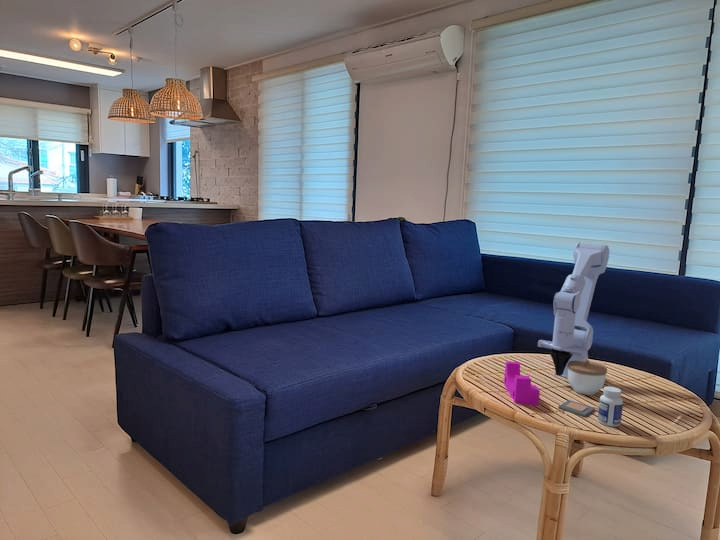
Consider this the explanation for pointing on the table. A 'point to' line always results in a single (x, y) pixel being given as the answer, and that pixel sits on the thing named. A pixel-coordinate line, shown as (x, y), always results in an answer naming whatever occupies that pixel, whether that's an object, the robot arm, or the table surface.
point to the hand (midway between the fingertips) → (559, 374)
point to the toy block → (520, 385)
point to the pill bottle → (610, 407)
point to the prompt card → (576, 408)
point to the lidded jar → (586, 376)
